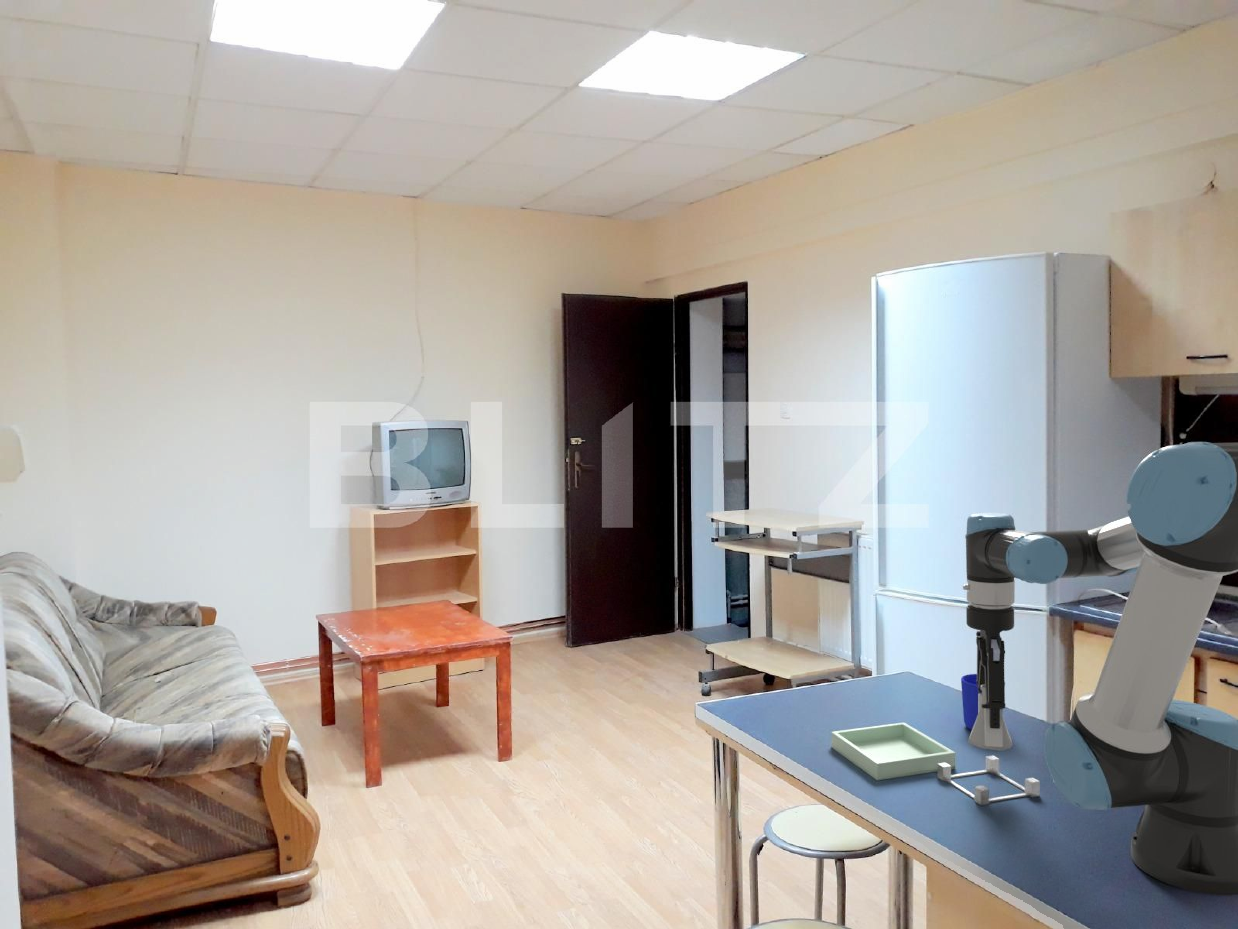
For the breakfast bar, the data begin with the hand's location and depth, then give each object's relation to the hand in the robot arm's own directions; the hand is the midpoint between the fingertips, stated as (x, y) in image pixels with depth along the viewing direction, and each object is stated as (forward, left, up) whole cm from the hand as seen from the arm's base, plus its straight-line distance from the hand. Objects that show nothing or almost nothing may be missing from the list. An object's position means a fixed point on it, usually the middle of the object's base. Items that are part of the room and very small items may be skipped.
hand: (990, 738), depth 156 cm
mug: (+25, -19, -9) cm, 33 cm away
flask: (0, 0, -1) cm, 1 cm away
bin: (+17, +8, -9) cm, 21 cm away
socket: (+1, 0, -9) cm, 9 cm away
